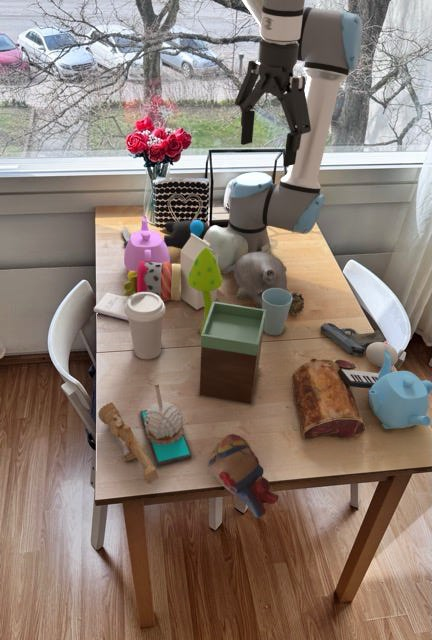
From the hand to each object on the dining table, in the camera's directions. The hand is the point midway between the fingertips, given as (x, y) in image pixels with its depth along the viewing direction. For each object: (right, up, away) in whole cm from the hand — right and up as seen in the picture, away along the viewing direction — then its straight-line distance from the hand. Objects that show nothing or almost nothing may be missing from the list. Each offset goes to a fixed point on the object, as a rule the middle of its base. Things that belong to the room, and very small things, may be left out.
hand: (267, 154), depth 117 cm
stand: (-8, -49, +13) cm, 51 cm away
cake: (-21, -22, +32) cm, 44 cm away
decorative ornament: (-22, -60, 0) cm, 64 cm away
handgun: (+30, -34, +28) cm, 54 cm away
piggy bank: (+1, -24, +38) cm, 45 cm away
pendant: (+13, -29, +33) cm, 46 cm away
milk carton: (-16, -26, +35) cm, 47 cm away
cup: (+4, -35, +28) cm, 45 cm away
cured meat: (+15, -52, +10) cm, 56 cm away
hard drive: (-30, -30, +29) cm, 52 cm away
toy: (-27, -4, +49) cm, 56 cm away
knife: (-40, -5, +53) cm, 67 cm away
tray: (-7, -38, +2) cm, 39 cm away
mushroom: (-14, -36, +25) cm, 46 cm away
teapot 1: (-31, -15, +46) cm, 57 cm away
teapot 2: (+28, -56, +7) cm, 63 cm away
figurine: (-23, -67, -12) cm, 72 cm away
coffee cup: (-28, -41, +19) cm, 53 cm away
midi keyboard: (+24, -47, +11) cm, 53 cm away
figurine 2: (+30, -39, +15) cm, 51 cm away
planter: (-3, -13, +41) cm, 43 cm away
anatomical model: (-10, -61, -9) cm, 63 cm away
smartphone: (-22, -60, 0) cm, 64 cm away
